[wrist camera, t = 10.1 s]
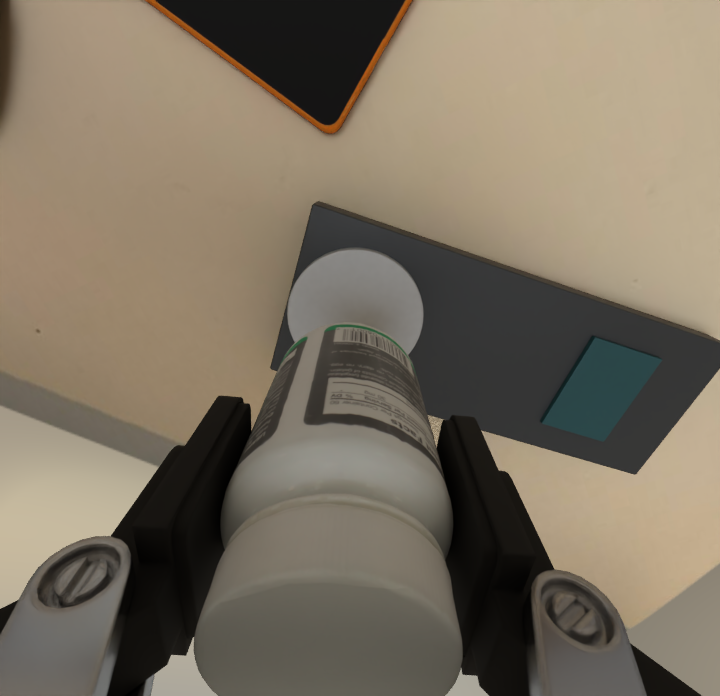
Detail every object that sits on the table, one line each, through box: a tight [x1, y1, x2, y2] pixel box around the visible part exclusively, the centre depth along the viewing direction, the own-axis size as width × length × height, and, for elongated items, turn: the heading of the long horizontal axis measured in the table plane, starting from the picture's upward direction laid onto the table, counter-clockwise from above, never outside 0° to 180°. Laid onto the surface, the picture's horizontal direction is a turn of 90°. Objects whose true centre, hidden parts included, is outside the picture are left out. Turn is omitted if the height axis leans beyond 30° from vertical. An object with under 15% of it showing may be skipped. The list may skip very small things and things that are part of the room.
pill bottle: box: [194, 322, 463, 696], centre depth 10 cm, size 5×5×8 cm
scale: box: [270, 201, 720, 474], centre depth 22 cm, size 23×9×3 cm, turn 72°
